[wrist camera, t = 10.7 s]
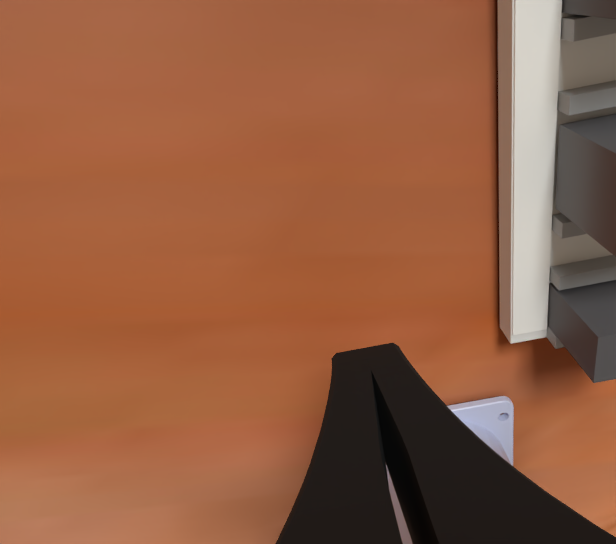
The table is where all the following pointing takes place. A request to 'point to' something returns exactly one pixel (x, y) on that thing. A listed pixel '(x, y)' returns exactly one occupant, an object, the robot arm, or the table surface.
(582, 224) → the block
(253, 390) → the table surface
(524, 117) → the panel
